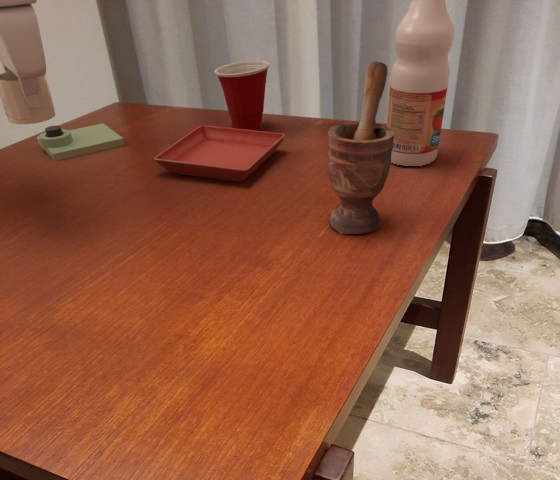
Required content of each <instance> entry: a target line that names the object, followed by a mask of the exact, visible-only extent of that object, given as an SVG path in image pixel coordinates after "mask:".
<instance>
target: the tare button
mask: <svg viewBox="0 0 560 480" xmlns="http://www.w3.org/2000/svg"><path fill="white" fill-rule="evenodd" d="M62 129H63V128H62V126H61V125H50V126H49V125H48V126H47V127H45V128H44V132H46V135H47V137H58V136H61V135H63V133H62Z"/></svg>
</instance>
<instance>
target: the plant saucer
mask: <svg viewBox="0 0 560 480" xmlns="http://www.w3.org/2000/svg"><path fill="white" fill-rule="evenodd" d="M285 136H286V134H285V133H281V132H273V131H262V130H259V131H254V130H245V129H235V128H233V127H223V126H215V125H206V124H205V125H204V124H203V125H199V126H197V127H195V129H193V130H192V131H190V132H189V133H187V134H186V135H185V136H183V137H182V138H180V139H179V140H177V141H176V142H174V143H172V144H171V145H170V146H167V148H165V149H164V150H162V151H161V152H160V153H158V154H157V155H155V156H154V157H153V160H154V161H155V162H156V163H157V164H158V165H160V166H161V167H162V168H163V169H165V170H166V171H168V172H169V173H172V174H178V175H185V176H192V177H198V178H199V177H200V178H206V179H208V178H209V179H216V180H223V181H230V182H239V183H242V182H244V181H245V180H246V179H248V178H249V176H251V175H252V174H253V173H254V172H255V171H256V170H257V169H258V168H259V167H260V166H261V165H263V163H264V162H266V160H267V159H269V158H270V157H271V156H273V154H274V153H275V152H276V150H277V149H278V148H279V146H280V145H281V143H282V142H283V140H284V139H285Z"/></svg>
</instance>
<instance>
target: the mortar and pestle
mask: <svg viewBox="0 0 560 480" xmlns="http://www.w3.org/2000/svg"><path fill="white" fill-rule="evenodd" d="M387 78H388V66H387V65H386V63H384V62H381V61H372V62H370V63H368V67H367V69H366V71H365V76H364V82H363V91H362V102H361V103H362V104H361V109H360V110H361V111H360V119H359V121H349V122H345V123H337V124H336V125H333V126H331V127H330V128H329V129H328V131H327V167H328V171H327V172H328V177H329V181H330V185H331V188H332V191H333V192H334V193H335V194H336V196H337V197H338V198H339V199H340V203H339V205H336V206H335V207H334V208H333V210H332V211H331V213H330V216H329V220H328V221H329V225H330V226H331V227H332V228H333V230H335V231H336V232H338V233H339V234H340V235H357V234H358V235H361V234H368V233H373V232H375V231H376V230H377V229H379V227H380V225H381V222H382V221H381V218H380V215H379V211H378V210H377V209H376V207H375V206H374V205H373V201H374V199H375V198H376V197H377V196H379V194H380V193H381V192H382V190H383V189H384V187H385V184H386V181H387V179H388V176H389V172H390V168H391V164H392V163H391V154H392V148H393V140H394V134H393V133H394V132H393V130H391V129H390V128H389V127H386V125H383V124H380V123H376V121H377V120H376V117H377V115H378V109H379V106H380V101H381V99H382V97H383V94H384V91H385V87H386V83H387Z"/></svg>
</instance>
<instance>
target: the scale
mask: <svg viewBox="0 0 560 480" xmlns="http://www.w3.org/2000/svg"><path fill="white" fill-rule="evenodd" d="M61 129H62V133H63V135H61V136H58V137H47V135H46V131H44V132H41V133H40V134H39V135H38V136H36V139H37V143H38V145H39V147H41V148H42V149H43V150H44V152H46V153H47V154H48V156H50V158H51V159H52V160H53V161H54V162H58V161H62V160H67V159H70V158H71V159H72V158H75V157H81V156H84V155H87V154H92V153H97V152H101V151H105V150H109V149H115V148H119V147H123V146H126V144H125V139H124V137H123V136H121V135H120V134H119V133H117V132H116V131H115V130H113V128H111V127H109V126H108V125H106V124H105V123H104V122H103V123H98V124H97V123H96V124H92V125H89V126H83V127H79V128H73V129H64V128H61Z"/></svg>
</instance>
